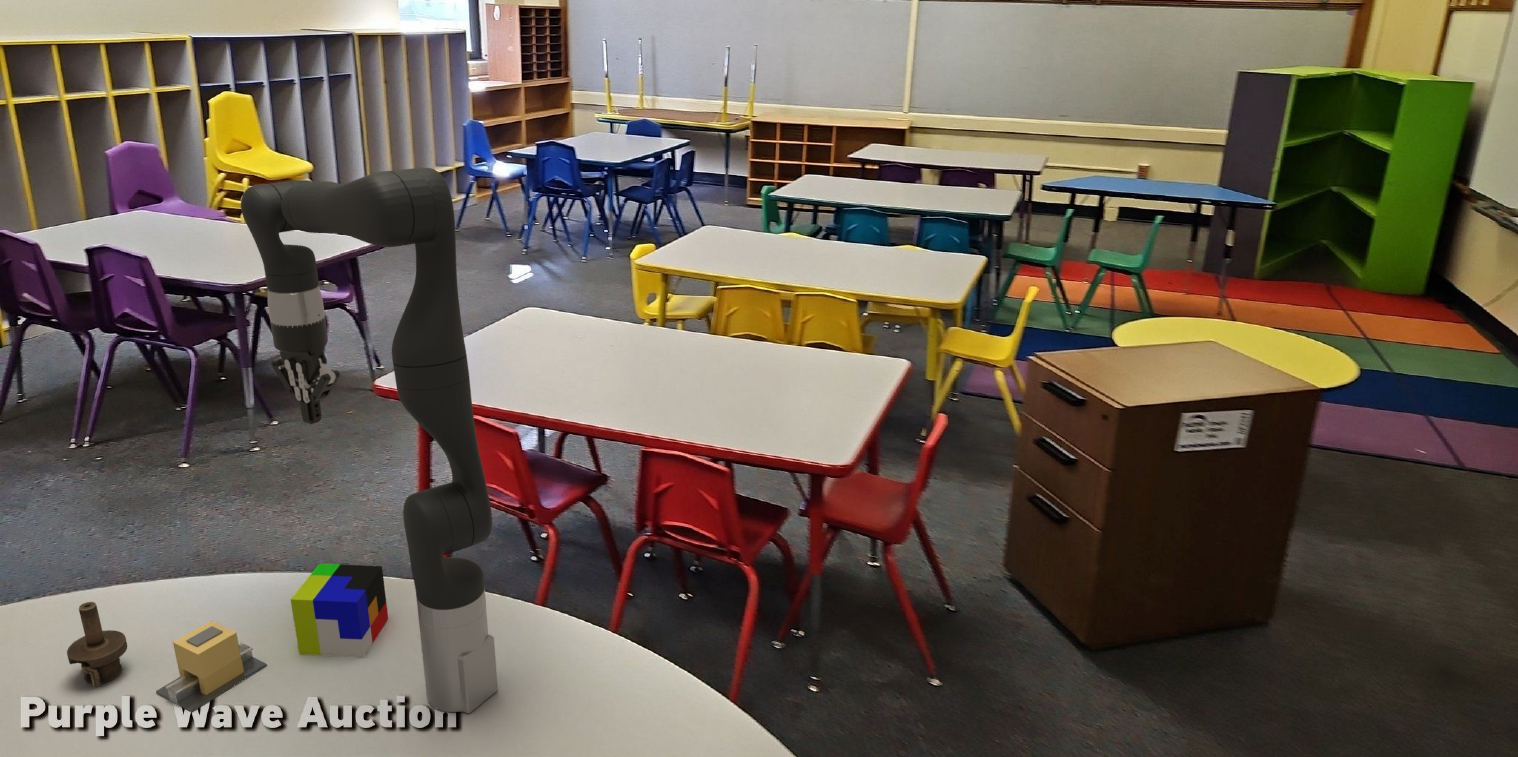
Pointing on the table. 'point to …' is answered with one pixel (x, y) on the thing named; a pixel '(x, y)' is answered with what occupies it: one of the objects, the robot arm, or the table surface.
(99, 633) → the industrial component
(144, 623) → the table surface
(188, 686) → the rail
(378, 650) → the table surface
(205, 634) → the block
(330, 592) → the puzzle toy
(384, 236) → the robot arm
